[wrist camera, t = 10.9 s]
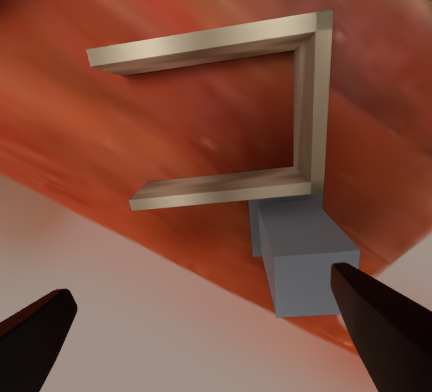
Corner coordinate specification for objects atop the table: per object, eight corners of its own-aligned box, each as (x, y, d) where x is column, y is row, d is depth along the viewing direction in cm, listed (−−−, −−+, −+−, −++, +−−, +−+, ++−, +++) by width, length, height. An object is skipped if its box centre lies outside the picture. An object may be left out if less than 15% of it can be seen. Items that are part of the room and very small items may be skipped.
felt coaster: (321, 187, 18) (323, 189, 18) (318, 249, 21) (320, 252, 20) (247, 194, 19) (247, 196, 18) (252, 253, 21) (252, 257, 21)
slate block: (313, 199, 18) (360, 250, 12) (312, 246, 20) (353, 313, 13) (257, 205, 19) (273, 257, 12) (260, 250, 20) (276, 317, 14)
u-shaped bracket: (306, 33, 15) (333, 9, 11) (303, 175, 18) (323, 192, 14) (119, 63, 16) (86, 49, 12) (150, 190, 19) (131, 210, 16)
